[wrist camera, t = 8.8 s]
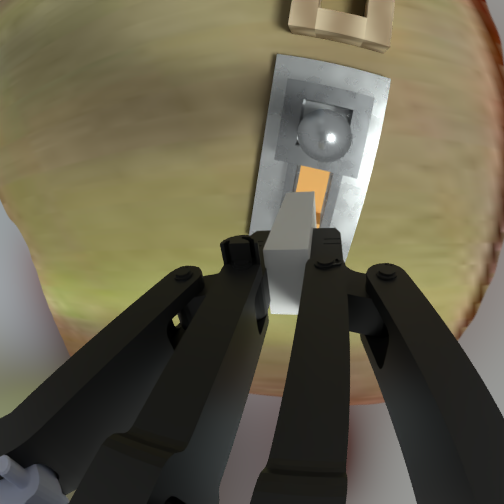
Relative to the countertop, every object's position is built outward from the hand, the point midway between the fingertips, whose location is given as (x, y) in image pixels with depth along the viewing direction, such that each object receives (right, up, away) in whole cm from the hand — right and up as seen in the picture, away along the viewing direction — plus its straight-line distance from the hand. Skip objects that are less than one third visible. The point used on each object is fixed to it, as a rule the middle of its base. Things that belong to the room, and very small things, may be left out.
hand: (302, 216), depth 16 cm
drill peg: (+5, +11, +12) cm, 17 cm away
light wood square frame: (+7, +24, +6) cm, 26 cm away
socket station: (+5, +9, +15) cm, 18 cm away
